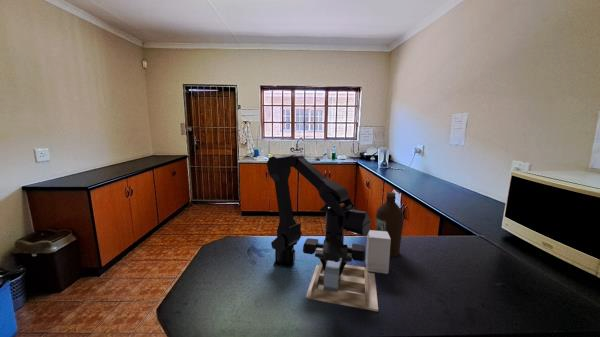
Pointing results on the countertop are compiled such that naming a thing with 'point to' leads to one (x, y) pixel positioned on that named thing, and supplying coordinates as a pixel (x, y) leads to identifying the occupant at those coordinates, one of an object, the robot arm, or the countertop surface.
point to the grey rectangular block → (332, 275)
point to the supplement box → (378, 251)
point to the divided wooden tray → (346, 288)
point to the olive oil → (391, 222)
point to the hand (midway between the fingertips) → (332, 274)
